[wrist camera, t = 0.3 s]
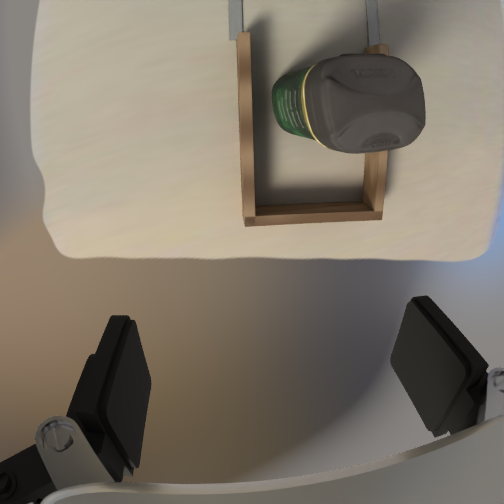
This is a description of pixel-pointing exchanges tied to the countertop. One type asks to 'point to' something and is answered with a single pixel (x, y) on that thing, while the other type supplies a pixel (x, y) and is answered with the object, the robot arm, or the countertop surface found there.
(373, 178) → the wooden u-shaped frame
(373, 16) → the grey bay
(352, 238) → the countertop surface
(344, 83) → the coffee jar
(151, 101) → the countertop surface
